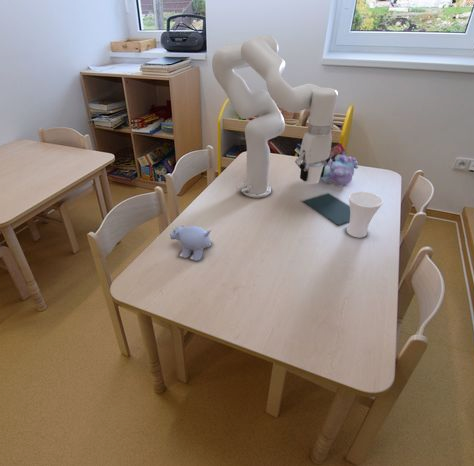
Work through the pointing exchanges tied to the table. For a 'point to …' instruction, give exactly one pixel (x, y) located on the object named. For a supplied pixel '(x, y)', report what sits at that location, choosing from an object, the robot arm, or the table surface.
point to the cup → (362, 212)
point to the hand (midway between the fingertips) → (311, 177)
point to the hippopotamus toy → (192, 240)
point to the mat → (330, 208)
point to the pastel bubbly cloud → (339, 167)
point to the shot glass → (314, 172)
